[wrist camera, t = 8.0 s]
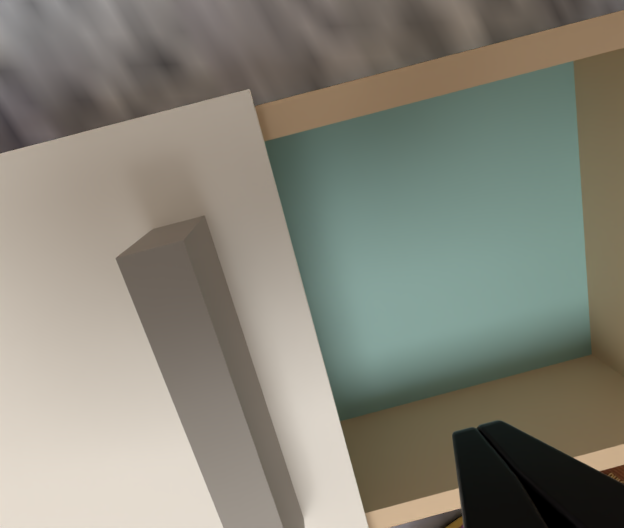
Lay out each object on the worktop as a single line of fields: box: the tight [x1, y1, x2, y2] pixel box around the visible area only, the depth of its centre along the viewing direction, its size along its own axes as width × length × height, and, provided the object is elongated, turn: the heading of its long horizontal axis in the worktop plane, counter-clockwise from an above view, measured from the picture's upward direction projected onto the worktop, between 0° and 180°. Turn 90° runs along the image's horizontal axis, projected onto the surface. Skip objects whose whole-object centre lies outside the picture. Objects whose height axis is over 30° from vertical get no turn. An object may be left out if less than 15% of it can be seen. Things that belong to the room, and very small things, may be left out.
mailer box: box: [255, 10, 624, 528], centre depth 14 cm, size 18×13×5 cm
